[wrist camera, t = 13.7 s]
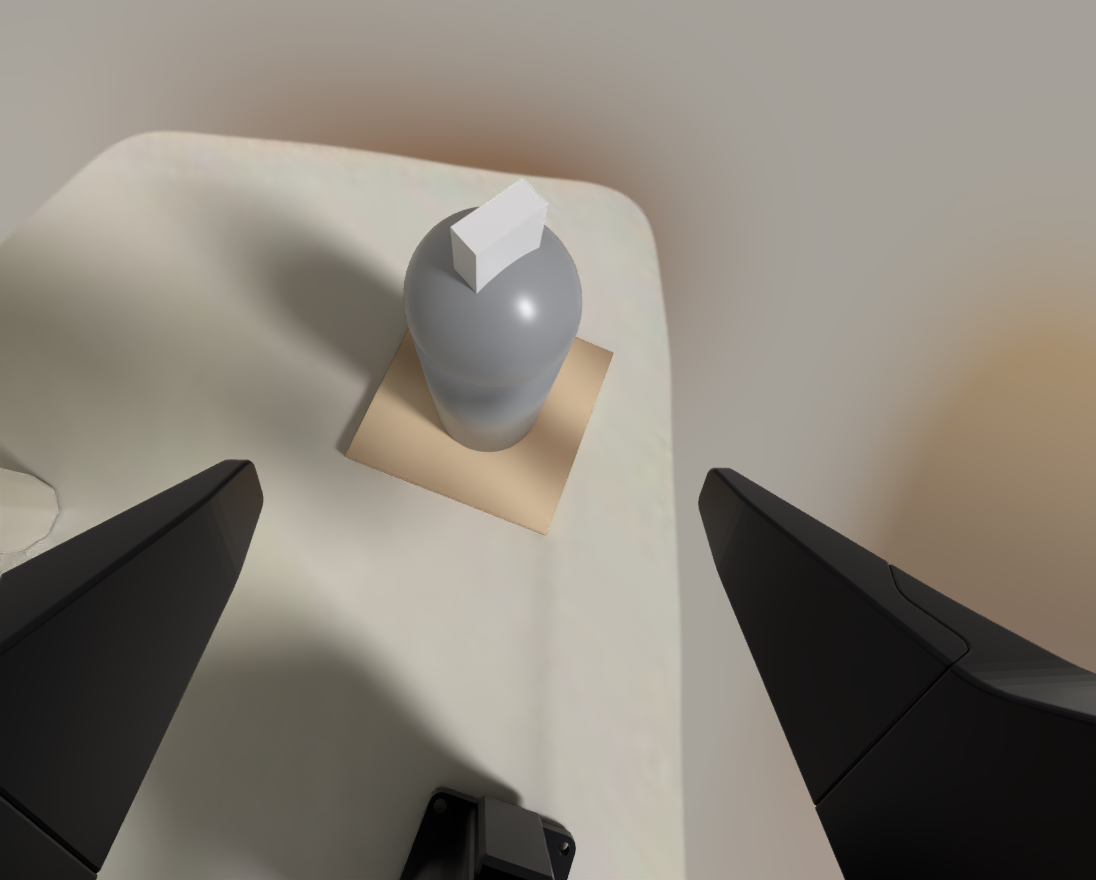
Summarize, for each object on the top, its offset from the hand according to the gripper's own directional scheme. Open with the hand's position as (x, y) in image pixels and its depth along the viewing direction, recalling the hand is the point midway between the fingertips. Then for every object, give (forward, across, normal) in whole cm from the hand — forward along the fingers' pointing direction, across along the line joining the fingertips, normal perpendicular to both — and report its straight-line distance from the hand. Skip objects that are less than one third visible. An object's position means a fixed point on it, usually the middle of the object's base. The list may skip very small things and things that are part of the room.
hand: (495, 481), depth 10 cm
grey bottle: (+13, 0, +5) cm, 14 cm away
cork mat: (+14, 0, +6) cm, 15 cm away
